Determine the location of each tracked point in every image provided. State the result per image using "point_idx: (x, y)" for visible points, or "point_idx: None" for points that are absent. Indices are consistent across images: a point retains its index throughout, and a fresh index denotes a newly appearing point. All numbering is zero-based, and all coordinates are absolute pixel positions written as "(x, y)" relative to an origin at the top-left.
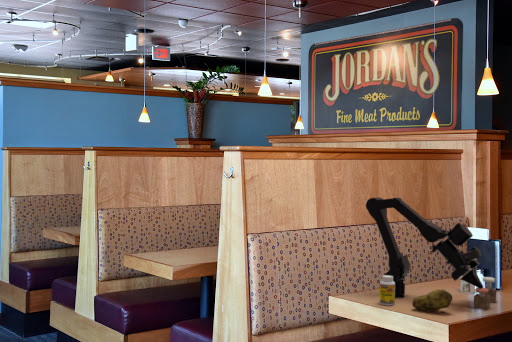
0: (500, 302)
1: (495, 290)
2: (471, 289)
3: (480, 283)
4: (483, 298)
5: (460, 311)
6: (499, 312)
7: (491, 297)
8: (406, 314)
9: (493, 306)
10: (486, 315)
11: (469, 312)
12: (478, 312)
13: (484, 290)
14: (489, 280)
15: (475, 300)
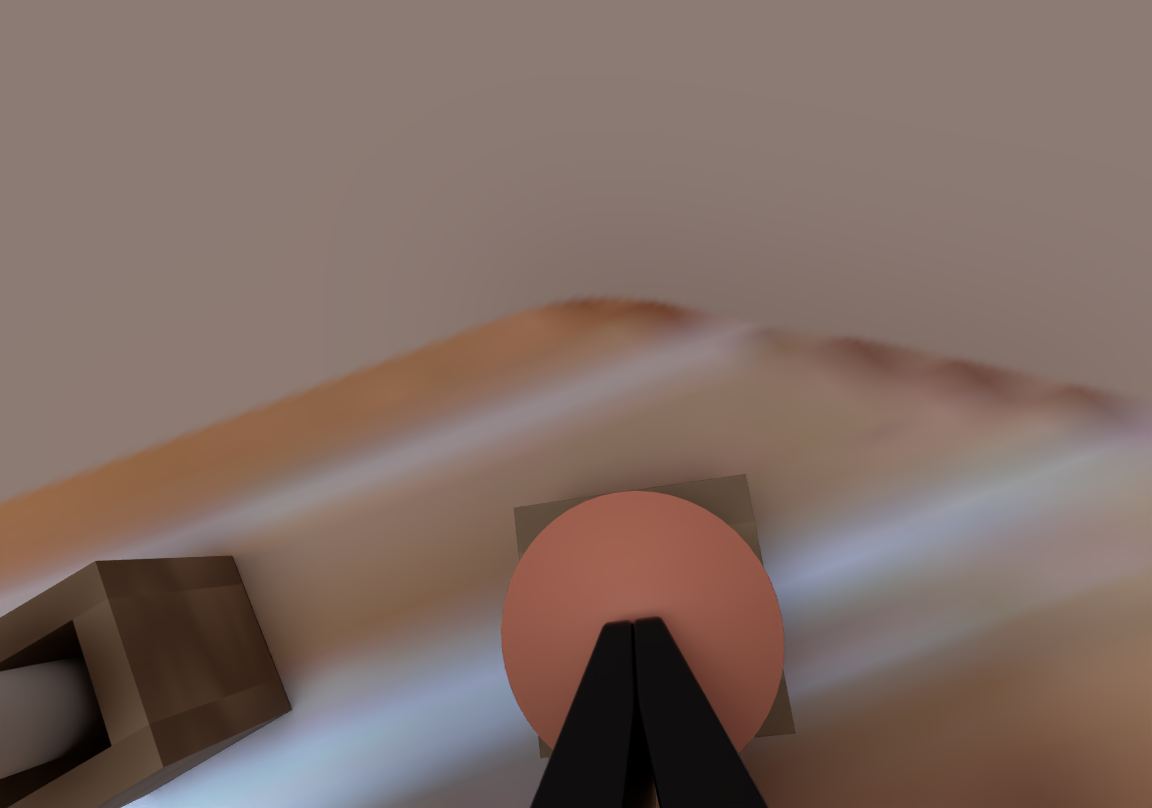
0: (178, 518)
1: (61, 585)
2: None
3: (696, 693)
4: (753, 542)
5: (1129, 770)
6: (719, 330)
7: (204, 614)
8: None
9: (450, 505)
10: (1026, 386)
11: (1066, 632)
12: (949, 531)
13: (739, 538)
14: None
15: None
